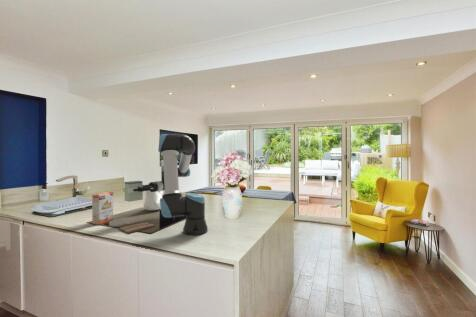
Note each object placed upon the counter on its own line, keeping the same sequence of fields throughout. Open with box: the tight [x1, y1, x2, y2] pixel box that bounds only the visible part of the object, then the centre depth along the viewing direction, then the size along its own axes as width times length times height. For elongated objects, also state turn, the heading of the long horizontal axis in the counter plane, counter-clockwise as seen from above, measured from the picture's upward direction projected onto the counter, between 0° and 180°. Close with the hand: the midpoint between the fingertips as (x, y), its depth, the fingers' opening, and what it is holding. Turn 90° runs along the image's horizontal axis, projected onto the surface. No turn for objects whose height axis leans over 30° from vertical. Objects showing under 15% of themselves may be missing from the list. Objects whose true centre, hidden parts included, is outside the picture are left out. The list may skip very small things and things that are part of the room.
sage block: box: [123, 180, 144, 203], centre depth 169 cm, size 6×10×13 cm, turn 142°
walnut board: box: [118, 221, 156, 235], centre depth 158 cm, size 13×18×1 cm
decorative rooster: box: [143, 182, 164, 211], centre depth 211 cm, size 25×16×25 cm, turn 159°
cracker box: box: [91, 191, 114, 226], centre depth 172 cm, size 14×6×21 cm, turn 168°
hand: (125, 190), depth 165 cm, fingers closed on sage block, 6 cm apart
